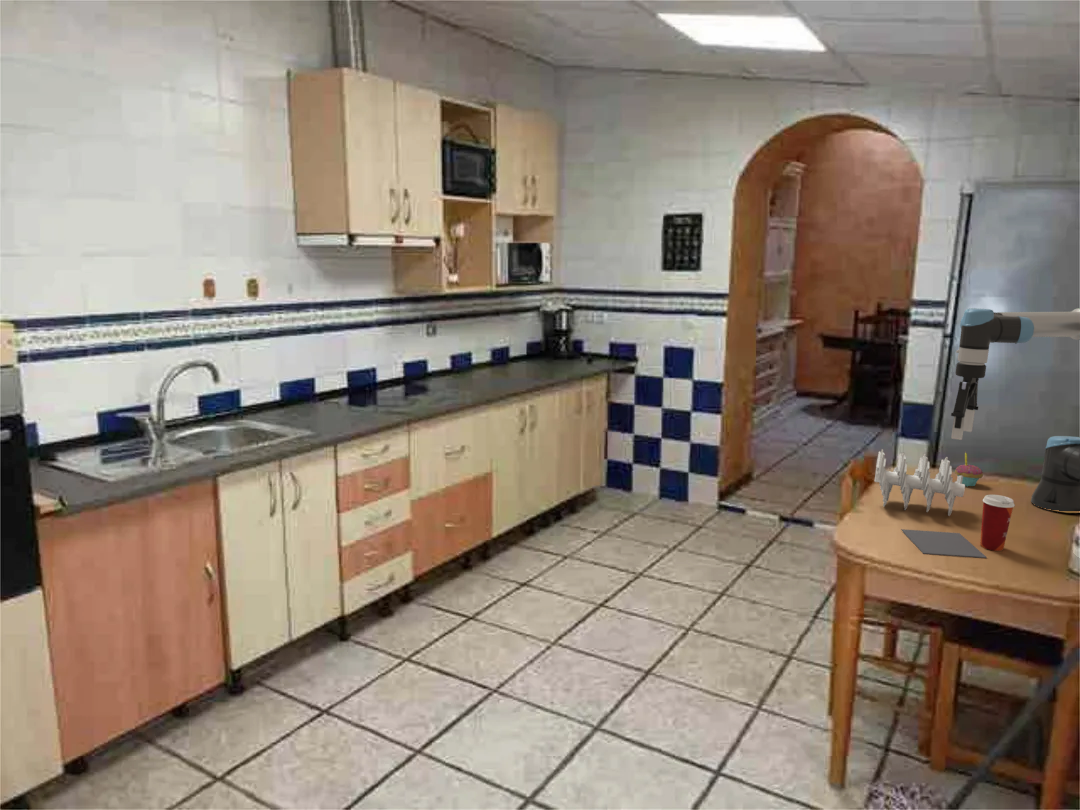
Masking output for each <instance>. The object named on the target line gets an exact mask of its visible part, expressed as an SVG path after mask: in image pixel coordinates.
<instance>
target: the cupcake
mask: <svg viewBox="0 0 1080 810" xmlns="http://www.w3.org/2000/svg"><path fill="white" fill-rule="evenodd" d="M954 473H955V474H956V475H957V477H958V476H961V475H962V476H963V480H962V484H965V487H968V486H974V487H975V486H976V484H977V483H978V481H979V479H982V478H983V477H984V473H983V470H982V469H981V468H980V467H979V466H977V465H973V464H968V453H967V451H966V450H965V451H964V464H960V465H957V467H955V470H954Z"/></svg>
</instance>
